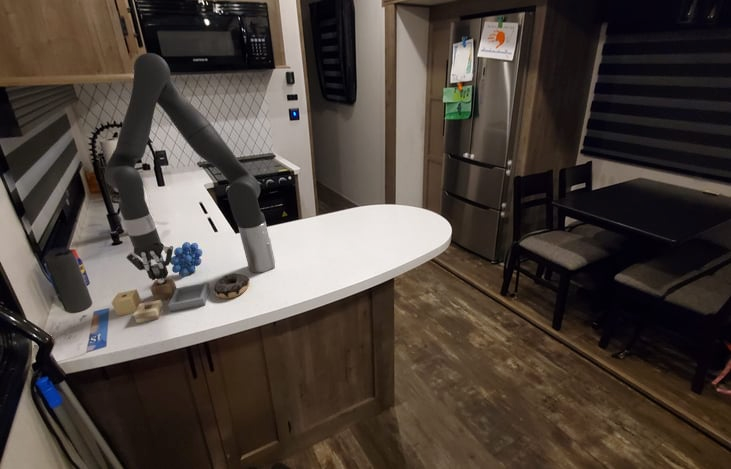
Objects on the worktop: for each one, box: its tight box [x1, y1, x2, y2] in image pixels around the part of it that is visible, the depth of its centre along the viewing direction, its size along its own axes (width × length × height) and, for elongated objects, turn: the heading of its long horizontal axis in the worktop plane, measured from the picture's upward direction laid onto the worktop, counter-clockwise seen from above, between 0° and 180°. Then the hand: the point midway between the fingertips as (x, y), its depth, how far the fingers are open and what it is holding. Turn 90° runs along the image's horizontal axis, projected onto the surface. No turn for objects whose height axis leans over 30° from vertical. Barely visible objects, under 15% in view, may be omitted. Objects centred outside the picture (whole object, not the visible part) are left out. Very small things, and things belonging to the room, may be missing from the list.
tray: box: [168, 282, 211, 313], centre depth 119 cm, size 10×10×2 cm
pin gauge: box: [151, 263, 165, 285], centre depth 121 cm, size 3×3×9 cm
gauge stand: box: [133, 300, 164, 324], centre depth 113 cm, size 6×6×3 cm
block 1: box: [111, 289, 143, 316], centre depth 117 cm, size 6×6×5 cm
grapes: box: [170, 241, 203, 277], centre depth 134 cm, size 12×7×12 cm, turn 136°
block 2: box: [149, 276, 177, 302], centre depth 122 cm, size 6×6×5 cm
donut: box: [213, 272, 250, 299], centre depth 122 cm, size 11×12×4 cm
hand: (159, 277), depth 121 cm, fingers closed on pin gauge, 2 cm apart
